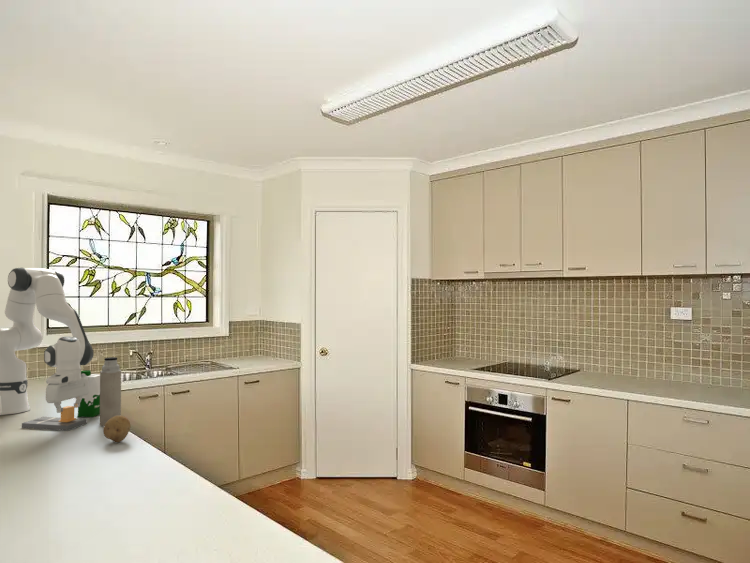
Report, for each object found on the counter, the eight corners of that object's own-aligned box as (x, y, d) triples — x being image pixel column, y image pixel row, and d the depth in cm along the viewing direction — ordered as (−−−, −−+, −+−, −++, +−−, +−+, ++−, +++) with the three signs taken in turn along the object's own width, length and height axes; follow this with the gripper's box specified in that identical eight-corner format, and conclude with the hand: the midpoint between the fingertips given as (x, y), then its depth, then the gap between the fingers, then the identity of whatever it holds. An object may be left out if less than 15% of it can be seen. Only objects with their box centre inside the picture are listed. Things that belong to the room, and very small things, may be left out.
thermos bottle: (107, 421, 225) (107, 356, 225) (124, 421, 224) (125, 356, 225) (95, 426, 217) (96, 358, 218) (113, 426, 216) (114, 358, 217)
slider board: (21, 428, 214) (21, 422, 214) (43, 421, 224) (43, 416, 225) (67, 430, 210) (67, 425, 210) (86, 423, 221) (86, 418, 221)
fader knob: (58, 422, 214) (58, 408, 214) (67, 419, 219) (67, 405, 219) (67, 422, 213) (67, 408, 214) (76, 419, 218) (76, 406, 218)
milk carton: (85, 412, 240) (86, 369, 241) (105, 413, 240) (105, 369, 240) (74, 417, 231) (74, 372, 232) (94, 417, 231) (94, 372, 232)
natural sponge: (119, 447, 188) (119, 419, 188) (97, 445, 190) (97, 418, 190) (135, 440, 197) (135, 413, 197) (114, 438, 199) (114, 412, 199)
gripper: (80, 372, 227) (79, 404, 227) (42, 380, 207) (42, 415, 207) (93, 372, 226) (92, 404, 226) (56, 380, 206) (56, 415, 206)
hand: (68, 409), depth 216 cm, fingers open, 8 cm apart
